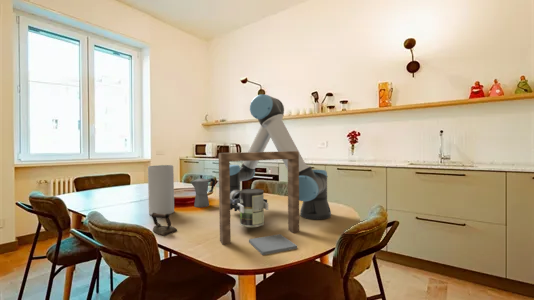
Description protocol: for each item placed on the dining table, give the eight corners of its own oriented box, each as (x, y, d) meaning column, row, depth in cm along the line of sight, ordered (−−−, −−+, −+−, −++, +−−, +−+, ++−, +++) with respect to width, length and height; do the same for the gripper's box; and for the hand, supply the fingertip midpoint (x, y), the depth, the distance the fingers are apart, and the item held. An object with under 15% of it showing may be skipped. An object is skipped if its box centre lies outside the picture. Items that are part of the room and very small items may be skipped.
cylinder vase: (168, 208, 151) (167, 164, 151) (178, 213, 142) (177, 166, 142) (145, 213, 143) (144, 166, 142) (154, 217, 134) (153, 167, 133)
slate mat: (280, 236, 104) (280, 234, 104) (297, 248, 93) (297, 245, 93) (248, 241, 99) (248, 239, 99) (262, 255, 87) (262, 252, 87)
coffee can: (239, 227, 109) (239, 193, 108) (240, 220, 119) (239, 189, 119) (265, 226, 109) (264, 192, 109) (263, 219, 120) (262, 188, 119)
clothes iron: (164, 237, 106) (158, 213, 106) (147, 239, 112) (141, 216, 112) (178, 230, 112) (172, 207, 112) (161, 232, 118) (155, 211, 118)
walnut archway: (294, 229, 113) (293, 151, 113) (299, 232, 110) (298, 151, 109) (219, 241, 100) (218, 153, 100) (222, 244, 97) (221, 153, 96)
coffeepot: (193, 208, 151) (193, 176, 151) (188, 205, 159) (187, 175, 158) (218, 204, 160) (218, 174, 160) (212, 202, 168) (211, 173, 167)
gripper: (260, 203, 135) (280, 213, 115) (216, 208, 126) (229, 220, 106) (260, 188, 135) (280, 196, 115) (215, 193, 126) (228, 201, 105)
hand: (255, 208), depth 110 cm, fingers closed on coffee can, 10 cm apart
